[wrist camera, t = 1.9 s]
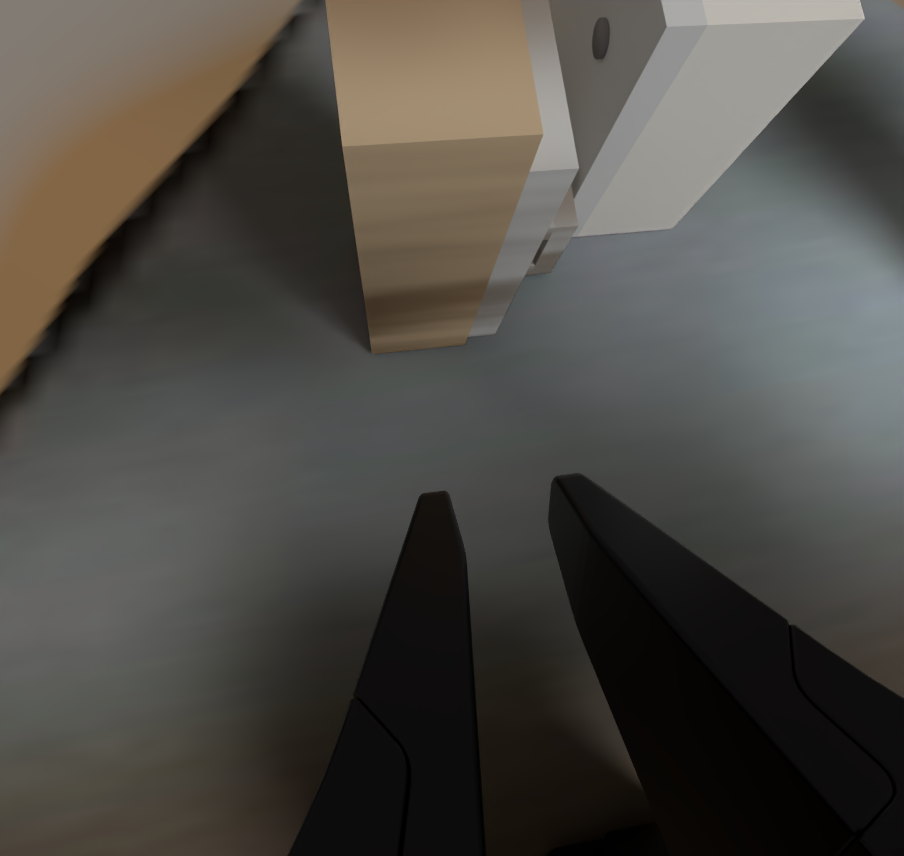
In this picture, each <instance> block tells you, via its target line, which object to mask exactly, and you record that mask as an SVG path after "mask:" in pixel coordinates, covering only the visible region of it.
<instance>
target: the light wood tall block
mask: <svg viewBox="0 0 904 856" xmlns="http://www.w3.org/2000/svg"><path fill="white" fill-rule="evenodd" d="M326 9H327V18H328V26H329V35H330V44H331V53H332V61H333V70H334V79H335V87H336V96H337V105H338V113H339V122H340V131H341V140H342V148H343V155H344V162H345V169H346V176H347V183H348V190H349V197H350V204H351V211H352V218H353V225H354V232H355V239H356V246H357V253H358V260H359V267H360V274H361V281H362V288H363V295H364V302H365V309H366V316H367V323H368V330H369V337H370V344H371V351H372V354H379V353H389V352H399V351H408V350H418V349H428V348H438V347H448V346H458V345H465V344H466V341H467V338H468V337H474V336H484V335H494V334H495V333H496V332H497V330H498V328H499V326H500V324H501V322H502V320H503V318H504V316H505V314H506V312H507V310H508V308H509V306H510V304H511V302H512V300H513V298H514V296H515V294H516V292H517V290H518V288H519V286H520V284H521V282H522V280H523V278H524V276H525V275H532V274H543V273H551V271H552V269H553V268H554V266H555V264H556V263H557V261H558V259H559V258H560V256H561V254H562V253H563V251H564V249H565V248H566V246H567V244H568V243H569V241H570V239H571V238H572V236H573V234H574V233H575V231H576V229H577V228H578V220H577V214H576V209H575V203H574V198H573V192H572V187H571V183H572V181H573V180H574V178H575V176H576V174H577V172H578V170H579V165H578V159H577V154H576V148H575V143H574V137H573V132H572V126H571V121H570V116H569V110H568V105H567V99H566V94H565V88H564V83H563V77H562V72H561V66H560V61H559V55H558V50H557V45H556V39H555V34H554V28H553V23H552V17H551V12H550V6H549V1H548V0H326Z"/></svg>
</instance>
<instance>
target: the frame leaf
mask: <svg viewBox="0 0 904 856" xmlns="http://www.w3.org/2000/svg"><path fill="white" fill-rule="evenodd" d="M548 1H549V6H550V12H551V17H552V23H553V28H554V34H555V39H556V45H557V50H558V55H559V61H560V66H561V72H562V77H563V83H564V88H565V94H566V99H567V105H568V110H569V116H570V121H571V126H572V132H573V137H574V143H575V148H576V154H577V159H578V165H579V170H578V172H577V174H576V176H575V178H574V180H573V181H572V183H571V187H572V192H573V198H574V203H575V209H576V214H577V220H578V228H577V229H576V231H575V233H574V234H573V236H572V237H579V236H592V235H604V234H616V233H628V232H640V231H652V230H664V229H672V228H673V227H674V226H675V225H676V224H677V223H678V222H679V220H680V219H681V218H682V217H683V216H684V215H685V214H686V213H687V212H688V211H689V210H690V209H691V207H692V206H693V205H694V204H695V203H696V202H697V201H698V200H699V199H700V198H701V197H702V195H703V194H704V193H705V192H706V191H707V190H708V189H709V188H710V187H711V186H712V185H713V183H714V182H715V181H716V180H717V179H718V178H719V177H720V176H721V175H722V174H723V173H724V171H725V170H726V169H727V168H728V167H729V166H730V165H731V164H732V163H733V162H734V161H735V160H736V158H737V157H738V156H739V155H740V154H741V153H742V152H743V151H744V150H745V149H746V148H747V146H748V145H749V144H750V143H751V142H752V141H753V140H754V139H755V138H756V137H757V136H758V134H759V133H760V132H761V131H762V130H763V129H764V128H765V127H766V126H767V125H768V124H769V123H770V121H771V120H772V119H773V118H774V117H775V116H776V115H777V114H778V113H779V112H780V111H781V109H782V108H783V107H784V106H785V105H786V104H787V103H788V102H789V101H790V100H791V99H792V97H793V96H794V95H795V94H796V93H797V92H798V91H799V90H800V89H801V88H802V87H803V85H804V84H805V83H806V82H807V81H808V80H809V79H810V78H811V77H812V76H813V75H814V74H815V72H816V71H817V70H818V69H819V68H820V67H821V66H822V65H823V64H824V63H825V62H826V60H827V59H828V58H829V57H830V56H831V55H832V54H833V53H834V52H835V51H836V50H837V48H838V47H839V46H840V45H841V44H842V43H843V42H844V41H845V40H846V39H847V38H848V37H849V35H850V34H851V33H852V32H853V31H854V30H855V29H856V28H857V27H858V26H859V25H860V23H861V22H862V21H863V20H864V19H865V17H864V14H863V10H862V6H861V3H860V0H548Z"/></svg>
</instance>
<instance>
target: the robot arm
mask: <svg viewBox="0 0 904 856" xmlns="http://www.w3.org/2000/svg"><path fill="white" fill-rule="evenodd" d="M548 523H549V529H550V534H551V537H552V541H553V545H554V548H555V552H556V555H557V559H558V562H559V566H560V570H561V573H562V577H563V580H564V584H565V587H566V591H567V595H568V598H569V602H570V605H571V609H572V612H573V616H574V619H575V622H576V625H577V628H578V631H579V633H580V636H581V639H582V641H583V643H584V646H585V648H586V651H587V653H588V656H589V658H590V661H591V663H592V665H593V668H594V670H595V673H596V675H597V678H598V680H599V683H600V685H601V687H602V690H603V692H604V695H605V697H606V700H607V702H608V704H609V707H610V709H611V712H612V714H613V717H614V719H615V722H616V724H617V726H618V729H619V731H620V734H621V736H622V739H623V741H624V744H625V746H626V748H627V751H628V753H629V756H630V758H631V761H632V763H633V765H634V768H635V770H636V773H637V775H638V778H639V780H640V783H641V785H642V787H643V790H644V792H645V795H646V797H647V800H648V802H649V805H650V807H651V809H652V812H653V814H654V817H655V819H656V822H655V823H650V824H645V825H640V826H635V827H630V828H625V829H620V830H615V831H610V832H607V834H606V835H605V836H604V837H603V838H602V839H598V840H593V841H588V842H583V843H578V844H573V845H568V846H563V847H559V848H555V849H553V850H551V851H550V853H549V854H548V855H547V856H904V698H903V697H901V696H899V695H898V694H896V693H895V692H893V691H892V690H890V689H888V688H887V687H885V686H884V685H882V684H881V683H879V682H877V681H876V680H874V679H873V678H871V677H869V676H868V675H866V674H865V673H863V672H862V671H861V670H859V669H858V668H856V667H855V666H853V665H852V664H850V663H849V662H847V661H846V660H844V659H843V658H841V657H840V656H839V655H837V654H836V653H834V652H833V651H831V650H830V649H828V648H827V647H825V646H824V645H822V644H821V643H820V642H818V641H817V640H815V639H814V638H813V637H811V636H810V635H808V634H807V633H806V632H804V631H803V630H801V629H800V628H799V627H797V626H796V625H793V624H791V625H789V623H788V620H787V619H785V618H784V617H783V616H781V615H780V614H778V613H777V612H776V611H774V610H773V609H771V608H770V607H769V606H767V605H766V604H764V603H763V602H762V601H760V600H759V599H757V598H756V597H755V596H753V595H752V594H750V593H749V592H748V591H746V590H745V589H743V588H742V587H740V586H739V585H738V584H736V583H735V582H733V581H732V580H731V579H729V578H728V577H726V576H725V575H724V574H722V573H721V572H719V571H718V570H717V569H715V568H714V567H712V566H711V565H710V564H708V563H707V562H705V561H704V560H702V559H701V558H700V557H698V556H697V555H695V554H694V553H693V552H691V551H690V550H688V549H687V548H686V547H684V546H683V545H681V544H680V543H679V542H677V541H676V540H674V539H673V538H672V537H670V536H669V535H667V534H666V533H665V532H663V531H662V530H660V529H659V528H657V527H656V526H655V525H653V524H652V523H650V522H649V521H648V520H646V519H645V518H643V517H642V516H641V515H639V514H638V513H636V512H635V511H634V510H632V509H631V508H629V507H628V506H627V505H625V504H624V503H622V502H621V501H620V500H618V499H617V498H615V497H614V496H612V495H611V494H610V493H608V492H607V491H605V490H604V489H603V488H601V487H600V486H598V485H597V484H596V483H594V482H593V481H591V480H590V479H589V478H587V477H586V476H584V475H582V474H579V473H575V474H567V475H560V476H556V477H555V478H554V479H553V481H552V484H551V493H550V503H549V514H548ZM353 697H354V698H352V699H351V700H350V703H349V706H348V709H347V712H346V715H345V718H344V721H343V724H342V727H341V730H340V732H339V735H338V738H337V740H336V743H335V746H334V748H333V751H332V754H331V756H330V759H329V762H328V765H327V767H326V770H325V773H324V775H323V778H322V780H321V782H320V784H319V787H318V789H317V791H316V794H315V796H314V798H313V800H312V803H311V805H310V807H309V810H308V812H307V814H306V817H305V819H304V821H303V823H302V826H301V828H300V830H299V832H298V834H297V836H296V839H295V841H294V843H293V845H292V847H291V849H290V851H289V853H288V856H486V844H485V829H484V814H483V799H482V784H481V769H480V754H479V739H478V724H477V709H476V693H475V678H474V663H473V648H472V633H471V618H470V603H469V588H468V573H467V561H466V553H465V549H464V544H463V541H462V537H461V534H460V530H459V527H458V523H457V520H456V516H455V513H454V509H453V506H452V502H451V499H450V495H449V493H448V492H447V491H437V492H429V493H423V494H421V495H420V497H419V498H418V501H417V504H416V507H415V510H414V513H413V516H412V519H411V522H410V525H409V528H408V531H407V534H406V537H405V540H404V543H403V546H402V549H401V552H400V555H399V558H398V561H397V564H396V567H395V570H394V573H393V576H392V579H391V582H390V585H389V588H388V591H387V594H386V597H385V600H384V603H383V606H382V609H381V612H380V614H379V617H378V620H377V623H376V626H375V629H374V632H373V635H372V638H371V641H370V644H369V647H368V650H367V653H366V656H365V659H364V662H363V665H362V668H361V671H360V674H359V677H358V680H357V683H356V686H355V689H354V692H353Z"/></svg>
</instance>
